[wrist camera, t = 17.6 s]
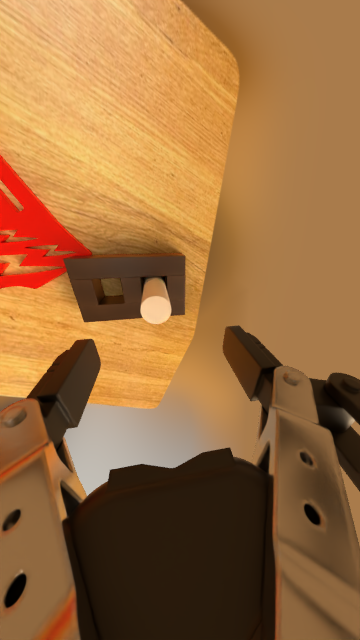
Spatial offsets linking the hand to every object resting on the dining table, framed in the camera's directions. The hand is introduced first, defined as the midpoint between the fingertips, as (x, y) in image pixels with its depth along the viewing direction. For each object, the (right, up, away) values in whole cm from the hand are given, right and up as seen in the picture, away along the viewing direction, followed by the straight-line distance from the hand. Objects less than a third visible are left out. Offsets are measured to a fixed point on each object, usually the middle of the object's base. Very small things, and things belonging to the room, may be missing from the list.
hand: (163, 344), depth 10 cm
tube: (-5, +10, +25) cm, 28 cm away
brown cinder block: (-9, +9, +25) cm, 28 cm away
